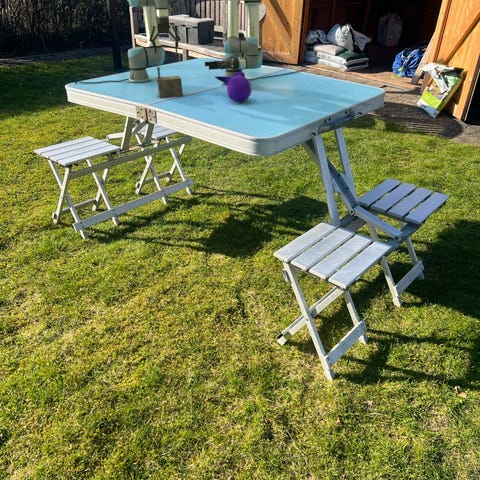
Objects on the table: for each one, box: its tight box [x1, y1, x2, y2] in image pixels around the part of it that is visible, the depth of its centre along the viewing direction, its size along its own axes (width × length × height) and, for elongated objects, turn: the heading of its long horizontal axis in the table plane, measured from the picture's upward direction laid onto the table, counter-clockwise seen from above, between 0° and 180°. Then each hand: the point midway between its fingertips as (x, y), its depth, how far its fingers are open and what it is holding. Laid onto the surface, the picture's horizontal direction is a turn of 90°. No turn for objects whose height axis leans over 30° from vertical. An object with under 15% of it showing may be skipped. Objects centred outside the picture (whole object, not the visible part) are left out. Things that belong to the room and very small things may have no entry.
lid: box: [154, 65, 182, 83], centre depth 289 cm, size 16×9×8 cm, turn 105°
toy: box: [214, 71, 252, 103], centre depth 277 cm, size 16×18×27 cm
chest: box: [156, 79, 184, 99], centre depth 293 cm, size 15×9×10 cm, turn 105°
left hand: (166, 52), depth 295 cm, fingers open, 13 cm apart
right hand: (206, 65), depth 293 cm, fingers open, 13 cm apart
